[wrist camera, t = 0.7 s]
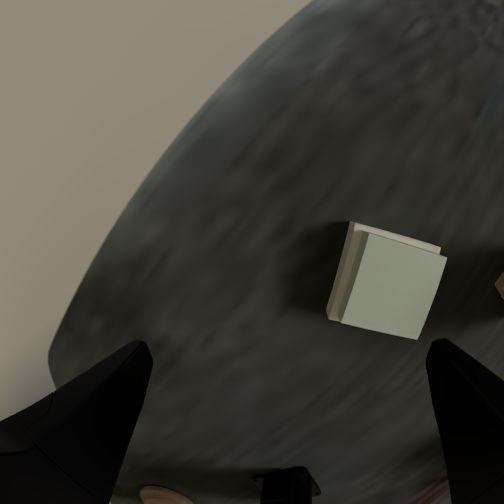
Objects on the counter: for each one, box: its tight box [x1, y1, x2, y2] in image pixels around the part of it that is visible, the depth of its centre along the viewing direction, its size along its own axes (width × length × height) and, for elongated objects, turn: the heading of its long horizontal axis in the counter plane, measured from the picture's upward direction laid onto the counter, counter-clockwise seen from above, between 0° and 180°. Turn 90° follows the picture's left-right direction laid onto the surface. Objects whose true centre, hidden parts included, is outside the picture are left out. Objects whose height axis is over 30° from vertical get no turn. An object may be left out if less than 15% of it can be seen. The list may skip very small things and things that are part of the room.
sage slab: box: [337, 230, 447, 340], centre depth 18 cm, size 6×6×2 cm
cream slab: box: [326, 221, 441, 322], centre depth 21 cm, size 7×7×2 cm
